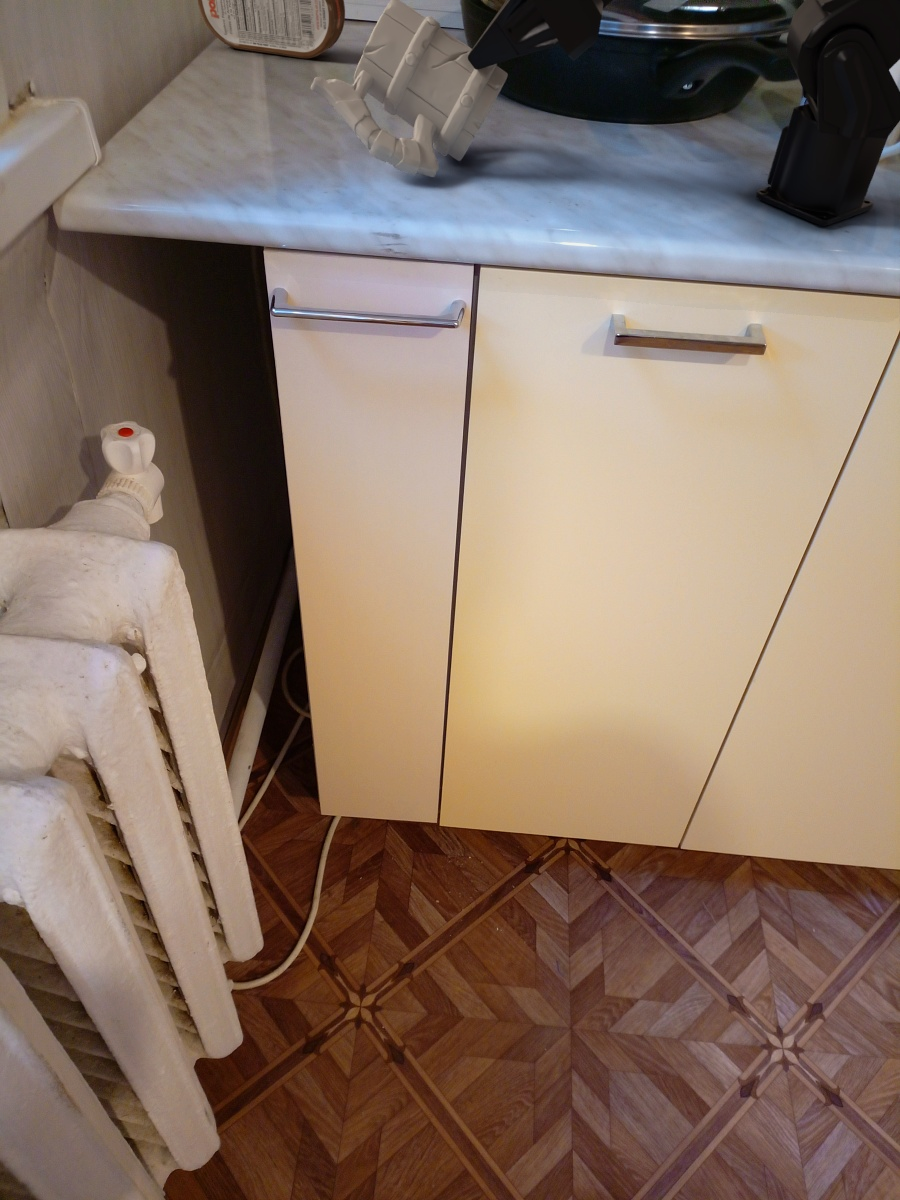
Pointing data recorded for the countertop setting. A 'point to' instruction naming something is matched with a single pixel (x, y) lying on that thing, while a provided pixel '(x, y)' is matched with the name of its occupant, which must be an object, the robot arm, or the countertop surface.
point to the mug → (415, 91)
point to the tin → (276, 24)
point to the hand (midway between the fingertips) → (471, 62)
